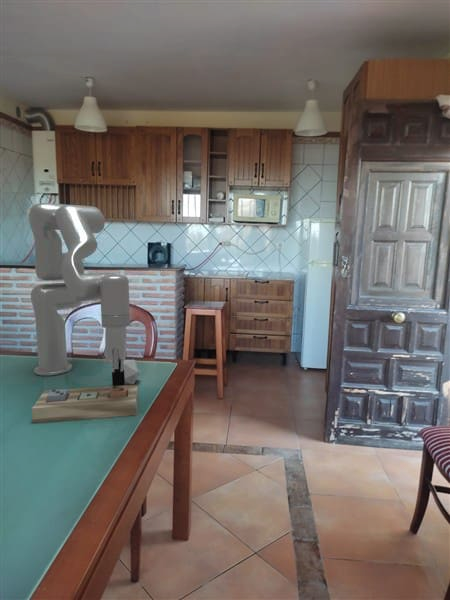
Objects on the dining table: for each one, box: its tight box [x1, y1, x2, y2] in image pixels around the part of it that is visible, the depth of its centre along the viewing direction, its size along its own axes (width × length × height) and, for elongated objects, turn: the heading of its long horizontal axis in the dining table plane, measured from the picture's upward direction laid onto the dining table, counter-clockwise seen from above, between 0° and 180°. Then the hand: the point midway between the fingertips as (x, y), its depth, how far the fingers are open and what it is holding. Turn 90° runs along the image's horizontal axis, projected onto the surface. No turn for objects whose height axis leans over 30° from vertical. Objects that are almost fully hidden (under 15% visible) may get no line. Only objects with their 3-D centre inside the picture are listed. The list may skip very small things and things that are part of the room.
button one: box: [79, 392, 98, 400], centre depth 106 cm, size 4×4×3 cm
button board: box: [31, 384, 139, 424], centre depth 106 cm, size 12×26×4 cm, turn 101°
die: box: [123, 359, 141, 386], centre depth 126 cm, size 8×9×10 cm
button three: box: [47, 388, 69, 402], centre depth 104 cm, size 4×4×3 cm
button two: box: [109, 385, 128, 398], centre depth 107 cm, size 4×4×3 cm
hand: (118, 384), depth 107 cm, fingers closed
